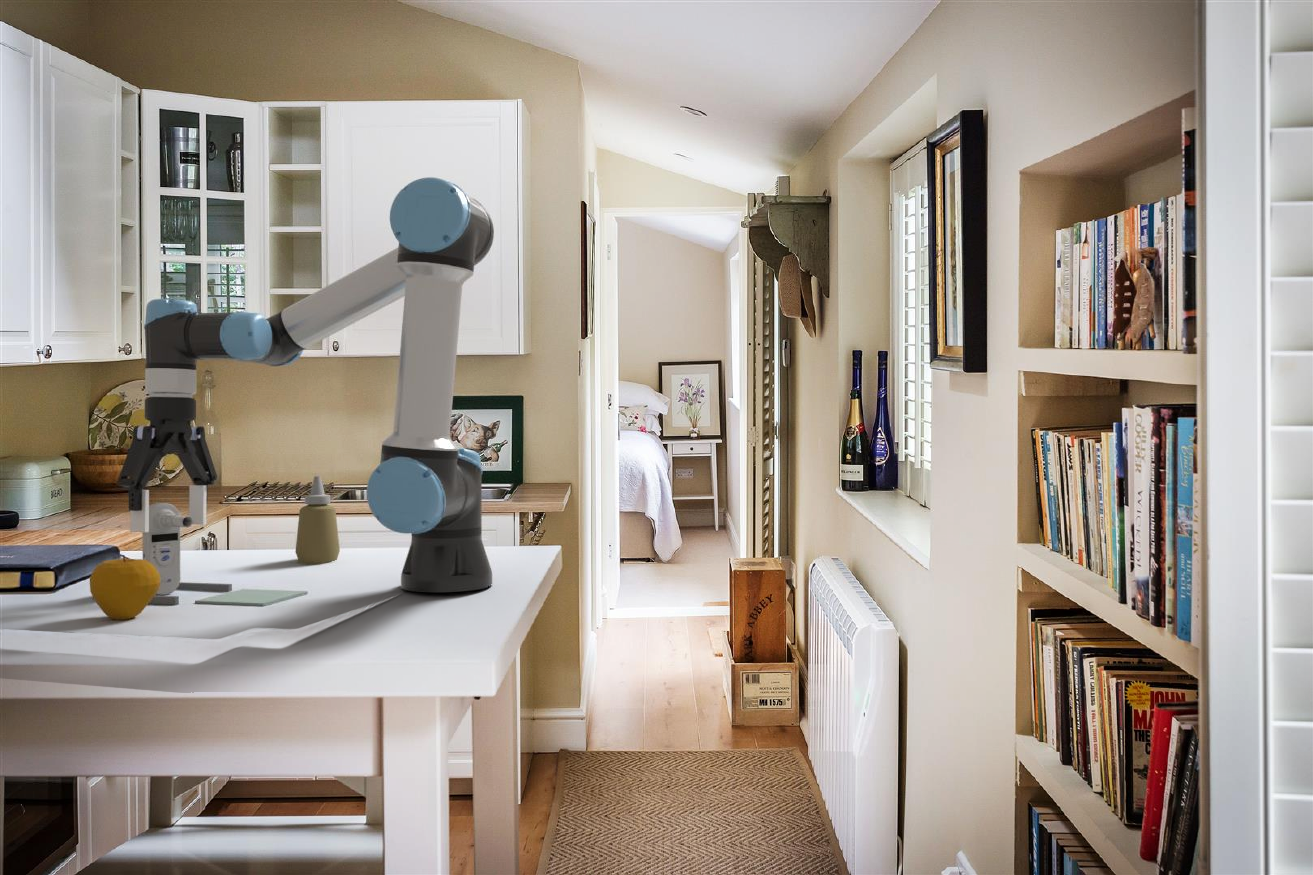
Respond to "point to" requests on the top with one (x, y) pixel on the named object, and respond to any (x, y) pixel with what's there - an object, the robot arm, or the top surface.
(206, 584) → the dock
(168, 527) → the electronic device
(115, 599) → the apple
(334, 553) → the squeeze bottle
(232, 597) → the mat
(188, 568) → the top surface
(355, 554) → the top surface
